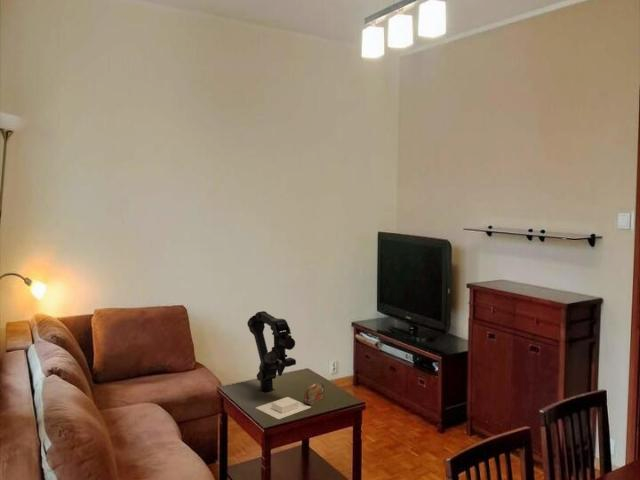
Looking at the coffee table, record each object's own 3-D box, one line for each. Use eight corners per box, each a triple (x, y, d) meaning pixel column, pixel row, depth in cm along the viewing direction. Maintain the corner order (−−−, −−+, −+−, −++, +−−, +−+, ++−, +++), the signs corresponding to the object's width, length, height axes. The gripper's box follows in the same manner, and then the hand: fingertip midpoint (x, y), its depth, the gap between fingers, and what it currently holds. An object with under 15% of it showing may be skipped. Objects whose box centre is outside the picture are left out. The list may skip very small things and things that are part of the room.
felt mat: (255, 408, 255) (255, 407, 255) (287, 397, 268) (287, 396, 268) (278, 420, 241) (278, 419, 241) (311, 407, 255) (311, 407, 255)
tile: (271, 402, 253) (282, 407, 247) (287, 397, 260) (298, 401, 254) (271, 408, 253) (282, 413, 247) (288, 403, 260) (298, 407, 254)
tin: (308, 407, 256) (308, 390, 255) (303, 406, 257) (303, 389, 257) (324, 397, 269) (324, 381, 268) (319, 396, 270) (319, 379, 269)
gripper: (255, 344, 265) (255, 374, 266) (278, 352, 251) (278, 384, 253) (273, 340, 273) (273, 369, 274) (296, 347, 259) (296, 378, 260)
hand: (279, 375), depth 265 cm, fingers closed
